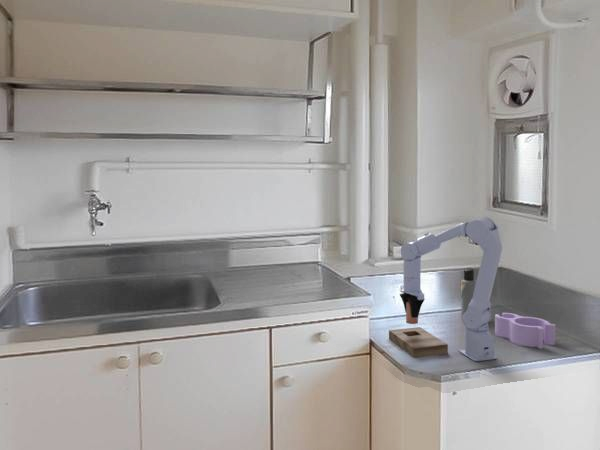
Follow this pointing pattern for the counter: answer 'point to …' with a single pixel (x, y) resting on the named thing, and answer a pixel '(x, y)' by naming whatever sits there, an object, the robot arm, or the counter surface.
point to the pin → (408, 315)
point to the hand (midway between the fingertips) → (411, 315)
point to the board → (418, 342)
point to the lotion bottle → (467, 289)
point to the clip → (525, 330)
